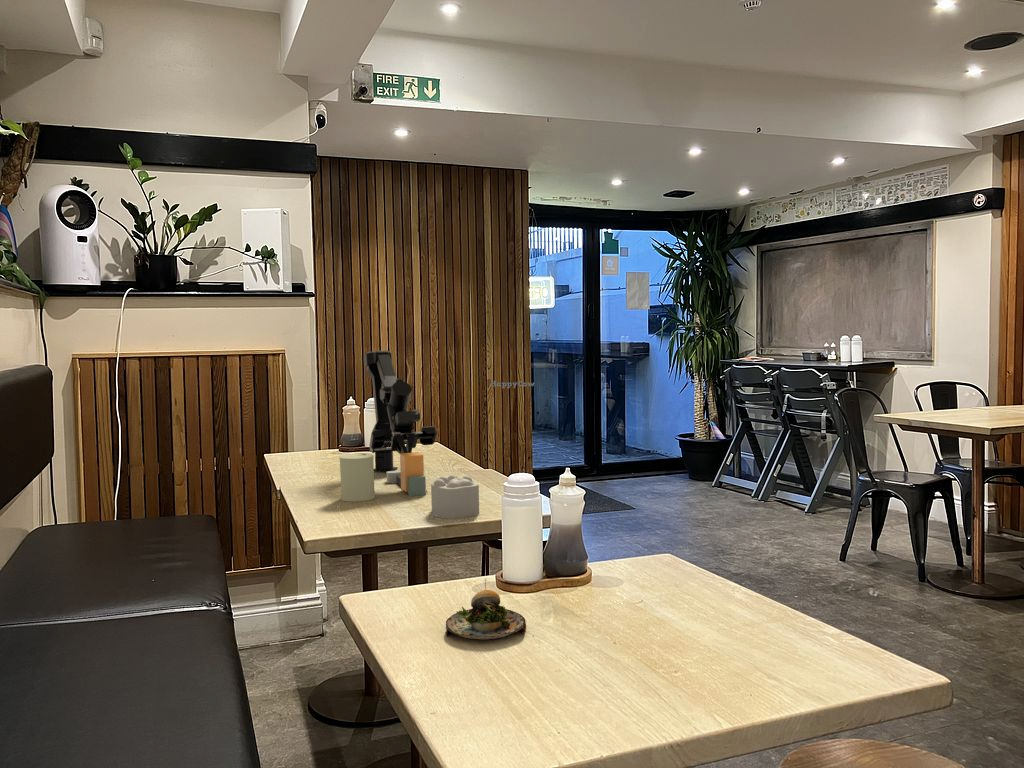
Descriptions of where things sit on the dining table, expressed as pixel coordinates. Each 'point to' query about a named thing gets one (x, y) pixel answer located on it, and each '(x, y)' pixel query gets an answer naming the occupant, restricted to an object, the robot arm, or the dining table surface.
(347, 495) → the can
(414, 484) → the toy mallet
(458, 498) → the lumpy-topped squat cylinder
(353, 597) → the dining table surface
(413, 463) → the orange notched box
